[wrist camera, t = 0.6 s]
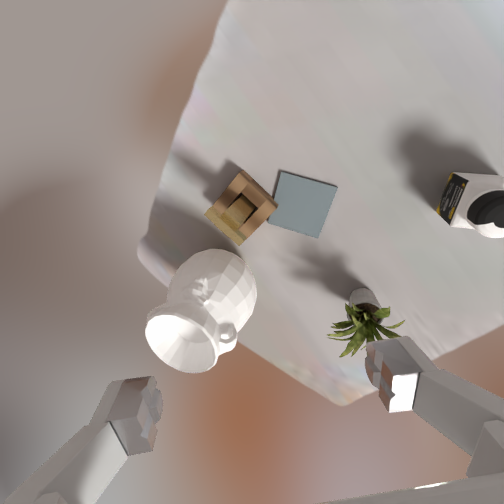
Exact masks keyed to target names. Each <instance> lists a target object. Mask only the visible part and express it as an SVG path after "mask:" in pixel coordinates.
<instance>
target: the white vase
mask: <svg viewBox="0 0 504 504" xmlns="http://www.w3.org/2000/svg"><path fill="white" fill-rule="evenodd" d="M256 299H257V289H256V282H255V279H254V276H253V273H252V271H251V270H250V268H249V267H248V265H247V264H246V262H245V261H243V260H242V259H241V258H239V257H238V256H237V255H235V254H234V253H231V252H228V251H226V250H223V249H208V250H205V251H201V252H198V253H195V254H194V255H193V256H191V257H190V258H189V259H187V260H186V261H185V262H184V263H183V264H181V265H180V267H179V268H178V270H177V271H176V273H175V274H174V276H173V278H172V280H171V282H170V285H169V288H168V293H167V302H166V303H164V304H162V305H161V306H158V307H156V308H154V309H153V310H151V311H150V312H149V313H148V316H147V325H146V338H147V341H148V343H149V345H150V347H151V348H152V350H153V351H154V352H155V354H156V355H157V356H158V357H159V358H160V359H161V360H162V361H164V362H165V363H166V364H167V365H169V366H171V367H173V368H175V369H177V370H179V371H183V372H187V373H199V372H204V371H207V370H209V369H210V368H211V367H213V366H214V365H215V364H216V362H217V358H218V355H221V354H223V353H224V352H227V351H231V350H232V349H233V348H234V347H235V345H236V341H237V332H238V331H239V330H240V329H241V328H242V327H243V325H244V324H245V323H246V321H247V320H248V319H249V317H250V316H251V314H252V312H253V309H254V305H255V302H256Z"/></svg>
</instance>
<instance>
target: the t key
mask: <svg viewBox="0 0 504 504" xmlns="http://www.w3.org/2000/svg"><path fill="white" fill-rule="evenodd" d="M255 207H256V206H255V205H254V204H253V203H252V202H251V201H250V200H249V199H248V198H247V197H246V196H245V195H244V194H243V195H242V196H241V197H240V198H239V199H238V200H236V201H235V202H234V203H233V204H232V205H231V206H230V207H229V208H228V209H227V210H226V211H225V212H224V213H223V214H221V213H220V212H218V211H217V210H216V209H215V208H214V207H213V206H212V207H210V208H209V209H208V210H207V212H206V213H205V214H204V215H205V216H206V217H207V218H208V219H209V220H211V221H212V222H213V223H214V225H215V226H216V227H217V228H219V229H220V230H221V231H222V232H223V233H224V234H225V235H226V236H228V237H229V238H231V239H232V240H233V241H234V242H235V243H236V244H237V245H238V246H240V245H241V244H242V243H243V242H244V241H245V239H246V238H247V237H246V236H245V235H244V234H243V233H242V232H241V231H239V230H238V228H239V227H240V226H241V224H242V223H243V222H244V221H245V220H246V218H247V217H248V216H249V215H250V213H251V212H252V211H253V210H254V209H255Z"/></svg>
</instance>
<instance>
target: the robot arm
mask: <svg viewBox="0 0 504 504" xmlns="http://www.w3.org/2000/svg"><path fill="white" fill-rule="evenodd" d="M366 351H367V353H368V354H369V355H368V356H367V357H366V358H365V368H366V373H367V375H368V378H369V380H370V381H371V383H372V385H373V386H375V387H377V388H378V389H379V397H380V399H381V401H382V402H383V404H384V406H385V407H386V409H387V411H388V412H389V413H391V412H399V411H407V410H413V411H414V412H415V413H416V414H417V415H418V416H420V417H421V418H422V419H424V420H425V421H426V422H428V423H429V424H430V425H431V426H433V427H434V428H435V429H437V430H438V431H439V432H440V433H442V434H443V435H444V436H446V437H447V438H448V439H450V440H451V441H452V442H454V443H455V444H456V445H457V446H459V447H460V448H461V449H463V450H464V451H465V452H467V453H468V454H469V455H470V456H472V457H471V460H470V463H469V465H468V468H467V472H466V475H467V476H468V478H466V479H460V480H454V481H448V482H442V483H436V484H431V485H425V486H419V487H413V488H407V489H401V490H395V491H389V492H383V493H377V494H371V495H365V496H359V497H353V498H347V499H342V500H336V501H329V502H323V503H317V504H504V399H503V398H501V397H499V396H497V395H495V394H493V393H491V392H489V391H487V390H485V389H483V388H481V387H479V386H477V385H475V384H473V383H471V382H469V381H466V380H464V379H463V378H461V377H459V376H456V375H454V374H453V373H451V372H448V371H446V370H444V369H441V370H439V369H438V368H437V366H436V365H435V364H434V363H433V362H432V361H431V360H430V359H429V358H428V357H427V355H426V354H425V353H424V352H423V351H422V350H421V349H420V348H419V347H418V346H417V345H416V343H415V342H414V341H413V340H412V339H411V338H410V337H408V336H403V337H397V338H390V339H384V340H378V341H372V342H368V343H367V344H366ZM156 384H157V382H156V379H155V377H154V376H147V377H140V378H132V379H125V380H118V381H112V382H111V383H110V384H109V385H108V387H107V389H106V391H105V393H104V395H103V397H102V399H101V401H100V403H99V406H98V407H97V409H96V411H95V413H94V415H93V417H92V419H91V421H90V423H89V425H87V426H84V427H83V428H82V429H81V430H80V431H78V432H77V433H76V434H75V435H74V436H73V437H72V438H71V439H70V440H69V441H68V442H66V443H65V444H64V445H63V446H62V447H61V448H60V449H59V450H58V451H57V452H56V453H55V454H54V455H52V456H51V457H50V458H49V460H47V461H46V462H45V463H44V464H43V465H42V466H41V467H40V468H39V469H37V470H36V471H35V472H34V473H33V474H32V475H31V476H30V477H29V478H28V479H27V480H26V481H25V482H23V483H22V484H21V485H20V486H19V487H18V488H17V489H16V490H15V491H14V492H13V493H12V494H11V495H10V496H8V497H7V498H6V500H5V501H4V503H3V504H95V502H96V501H97V500H98V498H99V497H100V495H101V494H102V493H103V491H104V490H105V488H106V487H107V486H108V484H109V483H110V482H111V480H112V479H113V477H114V476H115V475H116V473H117V472H118V470H119V469H120V468H121V466H122V465H123V463H124V462H125V461H126V459H127V458H128V456H129V455H134V454H140V453H145V452H150V451H153V447H154V443H155V439H156V435H157V429H156V426H155V424H156V423H157V422H158V421H159V420H160V418H161V414H162V407H163V400H162V394H161V392H160V390H158V389H156Z"/></svg>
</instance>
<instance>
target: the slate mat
mask: <svg viewBox="0 0 504 504" xmlns="http://www.w3.org/2000/svg"><path fill="white" fill-rule="evenodd" d="M337 188H338V187H336V186H332V185H329V184H325V183H321V182H318V181H314V180H311V179H307V178H304V177H300V176H296V175H293V174H289V173H286V172H281V175H280V178H279V182H278V186H277V190H276V194H275V198H274V201H275V202H276V203H277V204H279V206H278V207H277V209H276V210H275V211H274V212H273V213H272V214H271V215H270V217H269V220H268V223H269V224H273V225H276V226H279V227H282V228H285V229H289V230H292V231H295V232H298V233H302V234H305V235H308V236H311V237H315V238H318V237H319V235H320V232H321V230H322V227H323V224H324V222H325V219H326V217H327V214H328V211H329V209H330V206H331V204H332V201H333V198H334V196H335V193H336V191H337Z"/></svg>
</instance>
